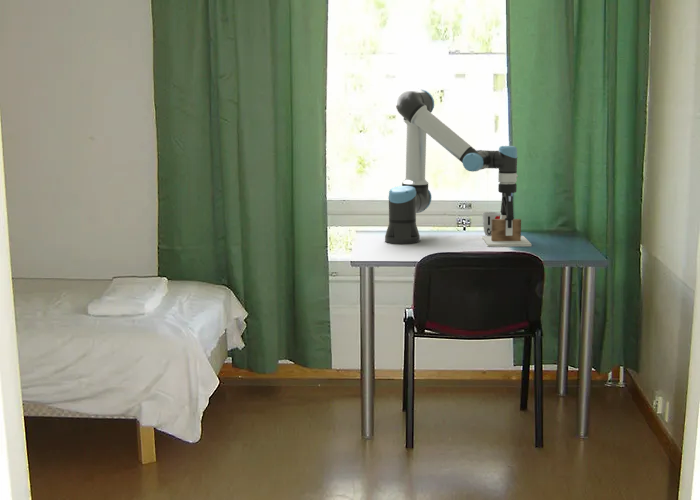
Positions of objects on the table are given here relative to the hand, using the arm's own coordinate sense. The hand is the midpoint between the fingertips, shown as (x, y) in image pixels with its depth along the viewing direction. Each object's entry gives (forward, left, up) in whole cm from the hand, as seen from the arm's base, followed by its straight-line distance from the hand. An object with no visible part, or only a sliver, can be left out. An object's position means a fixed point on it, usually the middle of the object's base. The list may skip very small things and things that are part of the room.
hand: (506, 232), depth 363 cm
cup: (-4, +19, -4) cm, 20 cm away
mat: (0, +1, -4) cm, 4 cm away
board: (0, 0, -3) cm, 3 cm away
